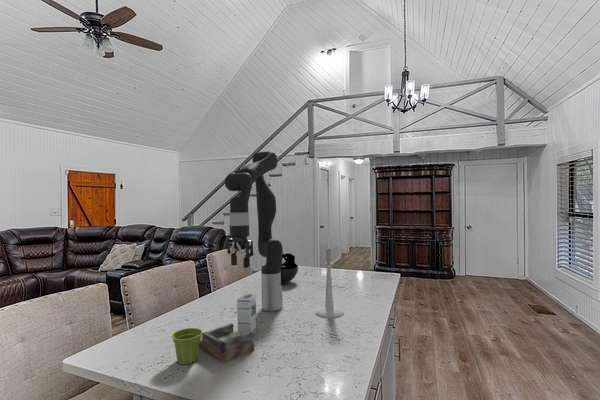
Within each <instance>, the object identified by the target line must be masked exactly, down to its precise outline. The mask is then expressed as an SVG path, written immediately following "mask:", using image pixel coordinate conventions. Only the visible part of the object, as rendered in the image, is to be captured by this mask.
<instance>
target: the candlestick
mask: <svg viewBox="0 0 600 400" xmlns="http://www.w3.org/2000/svg"><path fill="white" fill-rule="evenodd" d="M325 250H326V252H325V253H326V259H325V261H326V262H324V264H325V268H326V282H325V305H324V306H320V307H318V308H317V309H316V310H315V311H314V313H315V316H317V317H320V318H324V319H337V318H341V317H342V316H344V310H343V309H341V308H340V307H339V306H338V307H337V306H335V305H334V298H333V284H332V283H333V282H332V270H331V268H332V264H333V262H332V256H331V253H332V251H331V247H327V248H326V249H325Z"/></svg>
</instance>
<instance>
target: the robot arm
mask: <svg viewBox="0 0 600 400" xmlns="http://www.w3.org/2000/svg"><path fill="white" fill-rule="evenodd" d="M277 165H278V156H277V154H276V153H275V152H274V151H272V150H266V151H256V152H254V153H253V155H252V162H251V163H249V164H246V165H245V166H244V167H242V168H240V169H238V170H235V171H232V172H230V173H228V174H227V175H226V177H225V179H224V186H225V188H226V189H227V190H228V191H230V192H240V193H239V195H238V196H235V197H232V198H231V199H230V200H229V237H230V238H227V244H226V245H227V249H226V252H227V254H228V255H230V264H231V266H237V264H238V256H237V254H238V252H240V253H239V254H241V255H242V257H243V258H242V259H243V262H242V263H243V269H247V268H248V269H249V268H250V265H251V264H250V263H251V262H250V260H251V259H250V258H251V257H254V243H253V239H248V237H249V236H250V215H249V200H250V196H251V192H252V188H253V183H254V182H255V192H256V196H255V197H256V212H257V213H256V214H257V226H258V228H257V229H258V232H257V233H258V235H257V236H258V237H257V251H258V254H259V255H260V256H261V257H263V258H266V259H265V261H266V262H265V264H264V265H262V267H261V269H260V270H261V271H260V272H261V275H260V276H261V310H263V311H265V312H274V311H279V310H281V309H282V308H283V305H284V304H283V303H284V302H283V301H284V299H283V287H282V285H281V284H282V283H281V267H282V264H283V258H282V256H283V254H284V253H283V252H284V251H283V245H282V242H281V241H280V240H278V239H275V238H273V237H272V236H273V234H272V226H273V223H274V221H275V217H276V214H277V201H276V200H277V199H276V196H275V194H274V192H273V191H272V189H271V188H270V187H269V185H268V184H267V182H266V180H265V176H264V174H266V173H268V172H270V171H274V170H275V169H276V168H277V167H278V166H277Z"/></svg>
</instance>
